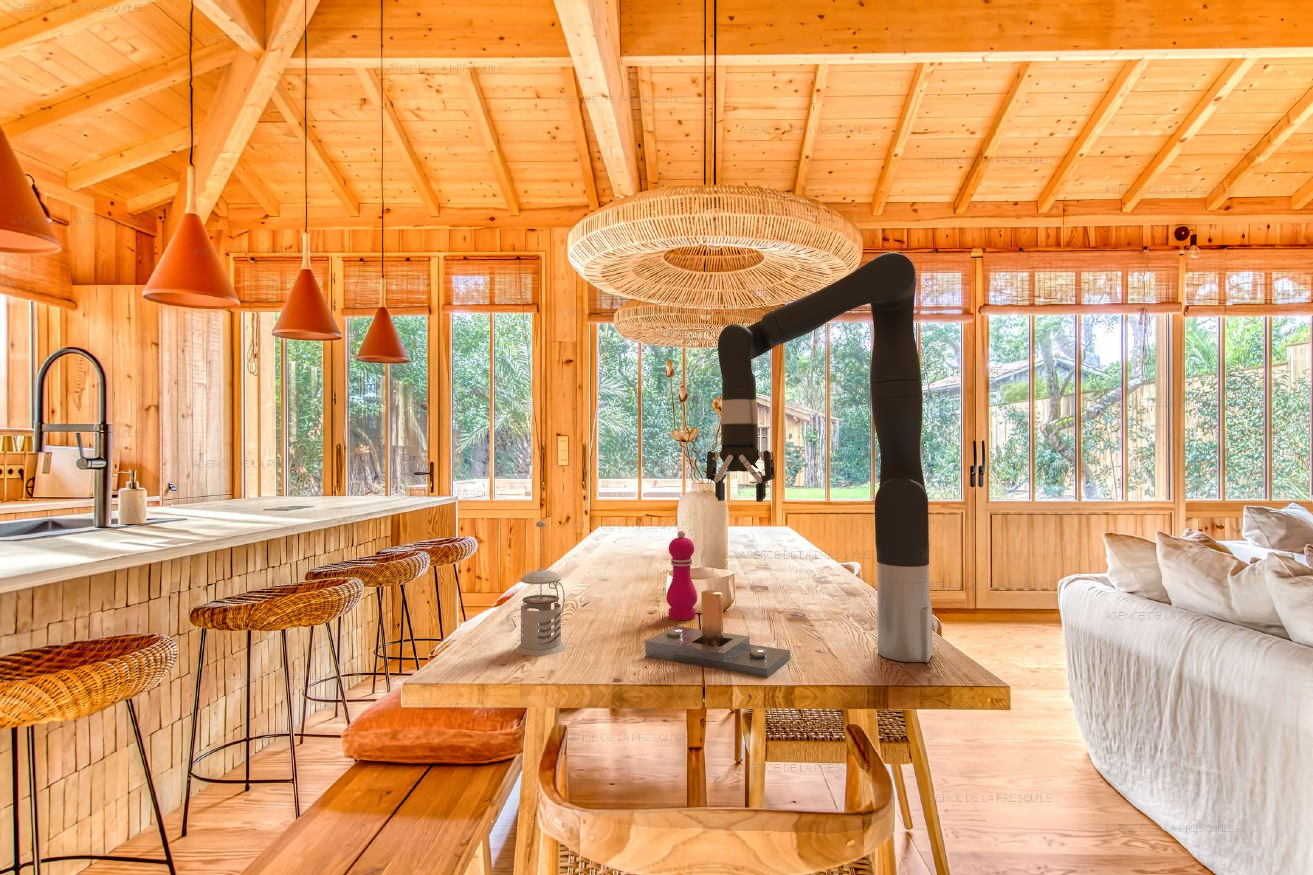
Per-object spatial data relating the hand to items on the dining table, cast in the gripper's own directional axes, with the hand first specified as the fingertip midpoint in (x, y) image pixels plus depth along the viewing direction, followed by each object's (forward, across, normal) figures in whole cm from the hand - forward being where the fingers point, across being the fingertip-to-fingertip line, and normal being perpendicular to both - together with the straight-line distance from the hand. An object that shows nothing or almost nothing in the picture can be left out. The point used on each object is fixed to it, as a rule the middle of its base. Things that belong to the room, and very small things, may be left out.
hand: (740, 501), depth 136 cm
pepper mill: (+28, +19, -10) cm, 36 cm away
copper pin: (+28, 0, +14) cm, 31 cm away
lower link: (+28, -4, +14) cm, 32 cm away
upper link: (+28, +3, +14) cm, 32 cm away
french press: (+28, +32, +24) cm, 49 cm away
